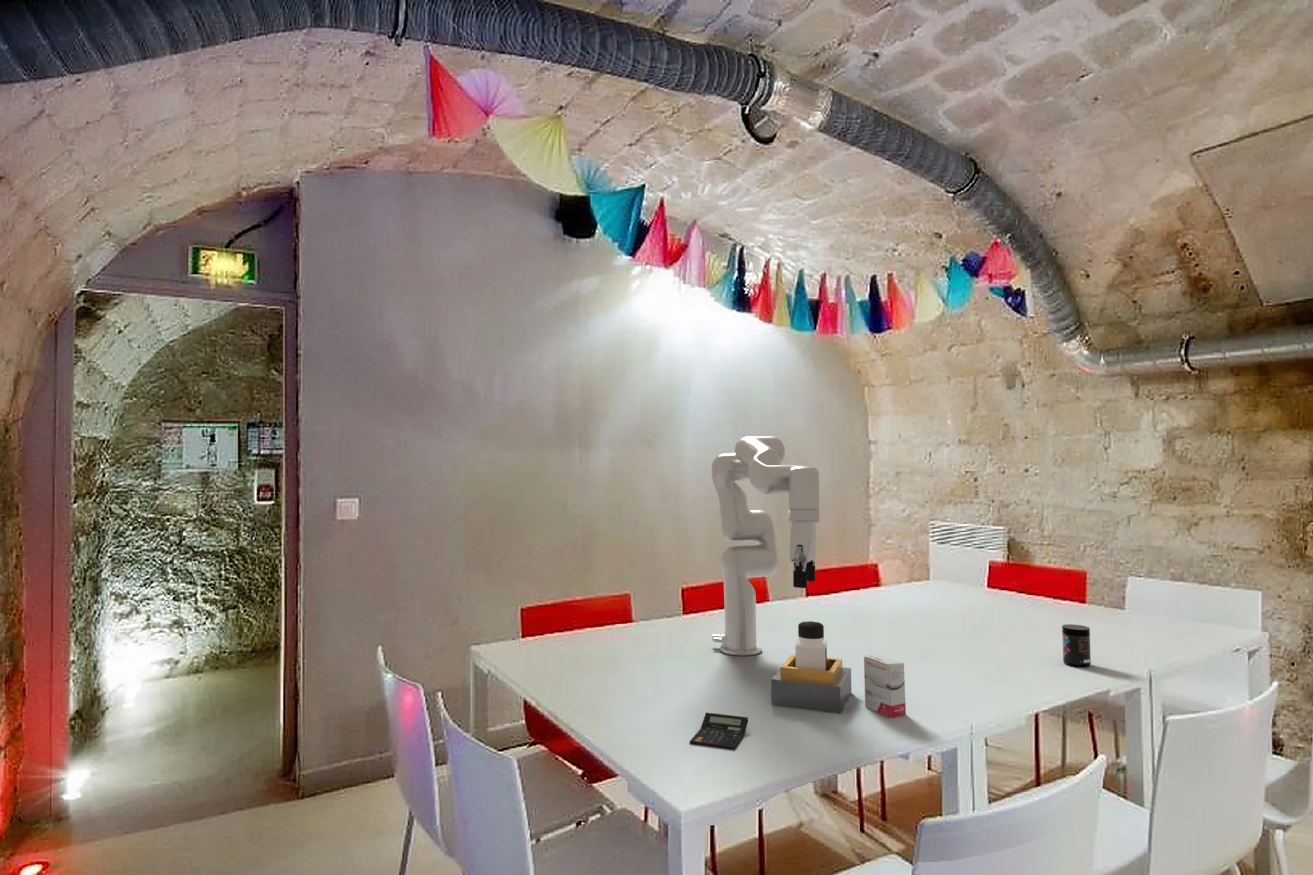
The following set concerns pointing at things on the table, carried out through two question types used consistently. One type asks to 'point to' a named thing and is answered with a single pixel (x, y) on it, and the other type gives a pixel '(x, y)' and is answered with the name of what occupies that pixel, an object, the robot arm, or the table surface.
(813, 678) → the drawer box
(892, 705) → the ink box
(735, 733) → the calculator
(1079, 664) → the supplement container
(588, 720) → the table surface
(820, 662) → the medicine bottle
